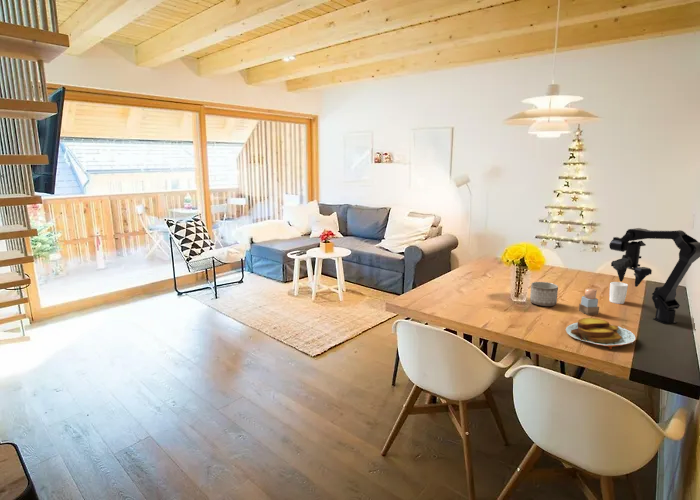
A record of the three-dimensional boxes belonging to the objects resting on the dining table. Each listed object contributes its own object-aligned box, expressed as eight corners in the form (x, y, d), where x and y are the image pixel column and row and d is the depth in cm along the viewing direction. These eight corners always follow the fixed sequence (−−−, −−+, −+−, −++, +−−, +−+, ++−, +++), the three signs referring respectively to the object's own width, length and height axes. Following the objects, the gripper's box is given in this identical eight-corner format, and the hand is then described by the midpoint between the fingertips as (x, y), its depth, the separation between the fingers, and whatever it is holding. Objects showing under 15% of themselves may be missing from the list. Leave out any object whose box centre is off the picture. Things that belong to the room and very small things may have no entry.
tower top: (597, 307, 192) (598, 299, 191) (587, 307, 191) (588, 299, 191) (590, 303, 197) (591, 296, 196) (580, 304, 196) (581, 296, 196)
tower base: (598, 314, 193) (599, 307, 192) (587, 315, 192) (588, 307, 191) (589, 310, 198) (590, 303, 198) (578, 311, 198) (579, 303, 197)
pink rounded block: (597, 299, 191) (598, 291, 191) (589, 299, 191) (590, 291, 190) (591, 296, 196) (592, 288, 195) (582, 296, 195) (583, 288, 195)
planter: (524, 301, 212) (525, 283, 210) (542, 298, 217) (544, 280, 215) (543, 309, 201) (545, 289, 199) (561, 306, 205) (563, 286, 203)
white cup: (628, 304, 205) (630, 286, 203) (611, 303, 207) (614, 285, 205) (621, 299, 213) (623, 282, 211) (605, 299, 215) (607, 281, 213)
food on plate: (626, 357, 150) (628, 341, 148) (556, 338, 167) (558, 323, 166) (641, 337, 167) (643, 322, 165) (576, 321, 184) (577, 308, 183)
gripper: (603, 250, 202) (599, 279, 205) (633, 258, 184) (629, 290, 187) (622, 249, 204) (619, 278, 207) (654, 257, 185) (650, 289, 189)
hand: (628, 283), depth 197 cm, fingers open, 9 cm apart
